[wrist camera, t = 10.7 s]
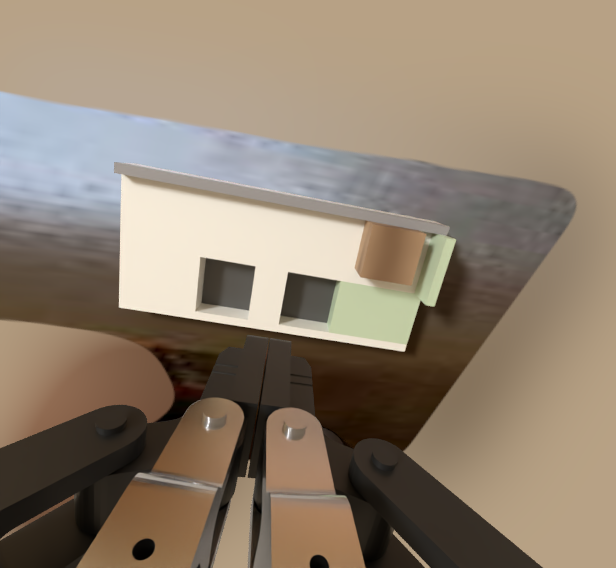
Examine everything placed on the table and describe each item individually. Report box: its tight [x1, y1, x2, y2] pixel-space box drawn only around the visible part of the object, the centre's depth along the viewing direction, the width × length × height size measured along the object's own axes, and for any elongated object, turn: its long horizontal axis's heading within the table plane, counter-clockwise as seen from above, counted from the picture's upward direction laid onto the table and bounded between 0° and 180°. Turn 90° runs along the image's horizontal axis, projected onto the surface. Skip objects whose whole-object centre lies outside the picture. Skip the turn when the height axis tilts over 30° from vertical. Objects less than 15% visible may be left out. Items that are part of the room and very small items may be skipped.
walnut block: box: [355, 220, 426, 286], centre depth 29 cm, size 4×4×3 cm
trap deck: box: [114, 162, 456, 352], centre depth 31 cm, size 28×13×6 cm, turn 79°
